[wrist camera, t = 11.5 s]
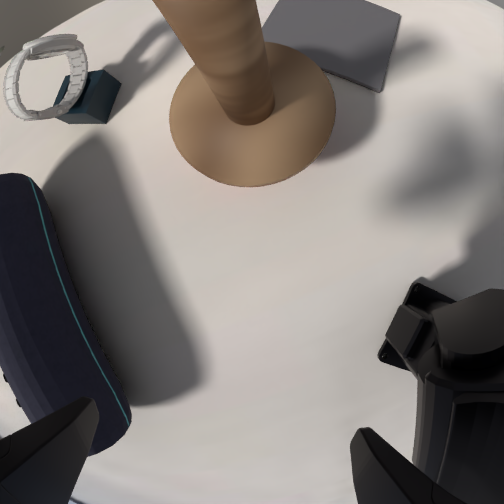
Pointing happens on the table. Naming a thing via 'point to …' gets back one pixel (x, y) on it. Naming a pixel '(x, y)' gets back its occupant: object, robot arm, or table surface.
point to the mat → (337, 36)
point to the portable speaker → (48, 320)
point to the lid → (244, 96)
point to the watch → (64, 84)
